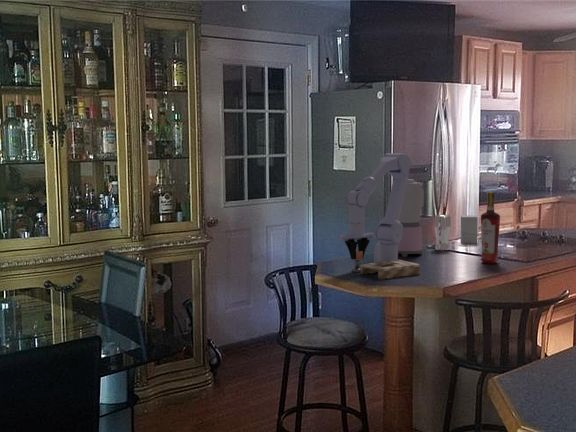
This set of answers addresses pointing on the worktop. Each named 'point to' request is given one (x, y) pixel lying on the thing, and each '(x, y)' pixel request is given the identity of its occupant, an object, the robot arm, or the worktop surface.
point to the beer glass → (442, 231)
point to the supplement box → (469, 228)
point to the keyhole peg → (357, 261)
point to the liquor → (490, 232)
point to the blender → (411, 219)
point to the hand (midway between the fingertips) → (357, 258)
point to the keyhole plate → (391, 268)
